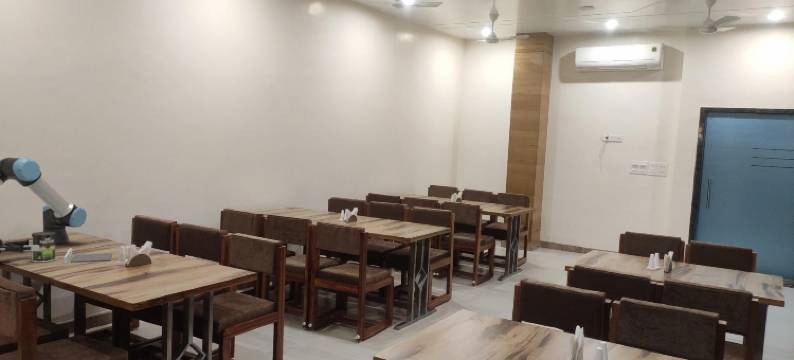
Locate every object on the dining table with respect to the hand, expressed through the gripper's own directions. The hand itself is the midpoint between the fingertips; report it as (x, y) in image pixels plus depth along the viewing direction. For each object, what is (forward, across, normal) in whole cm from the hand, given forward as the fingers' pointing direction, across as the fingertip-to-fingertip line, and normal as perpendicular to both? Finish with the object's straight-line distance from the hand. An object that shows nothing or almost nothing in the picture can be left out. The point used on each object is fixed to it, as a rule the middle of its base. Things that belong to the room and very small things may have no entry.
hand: (41, 245), depth 297 cm
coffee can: (+1, 0, -8) cm, 8 cm away
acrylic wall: (+12, 0, -8) cm, 14 cm away
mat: (+23, -1, -8) cm, 24 cm away
